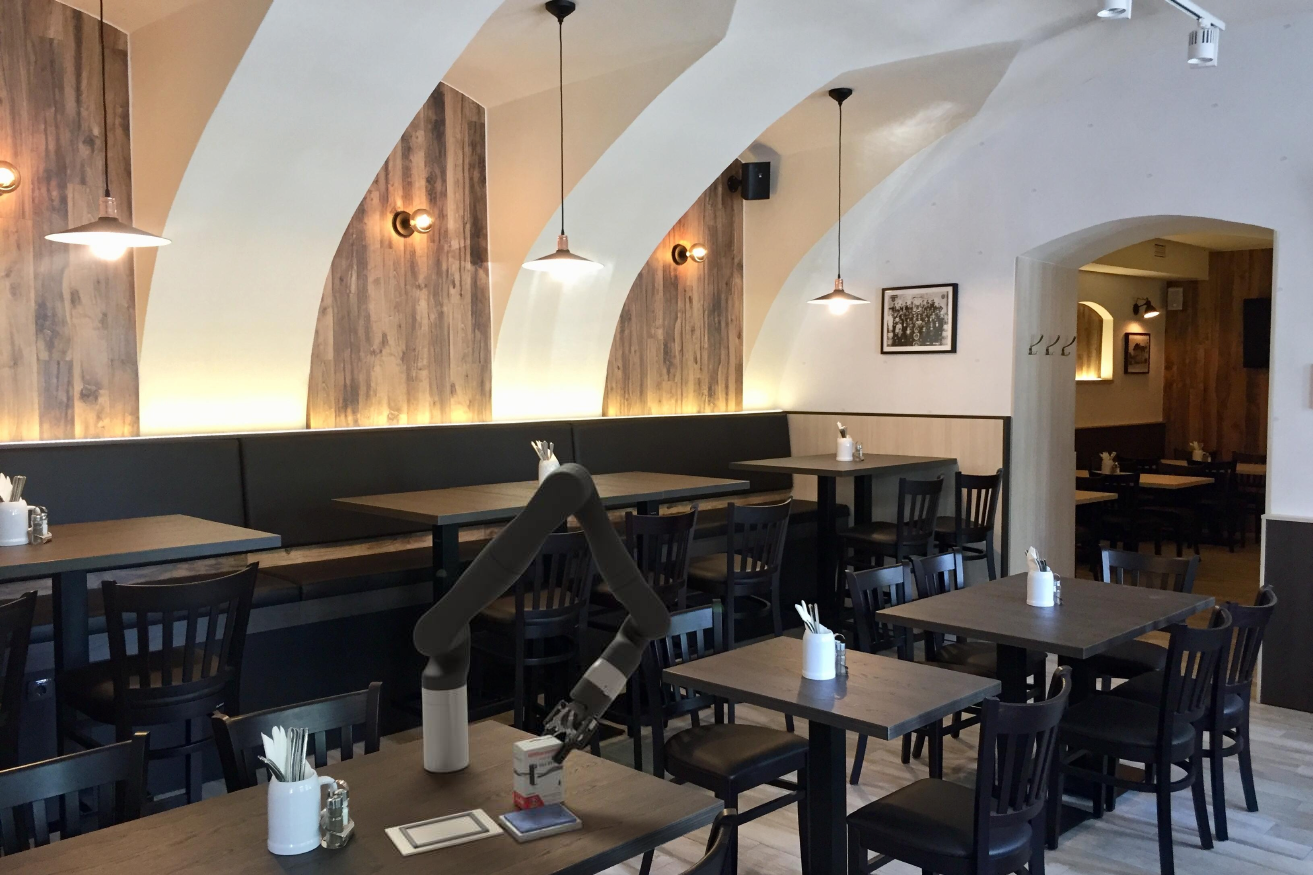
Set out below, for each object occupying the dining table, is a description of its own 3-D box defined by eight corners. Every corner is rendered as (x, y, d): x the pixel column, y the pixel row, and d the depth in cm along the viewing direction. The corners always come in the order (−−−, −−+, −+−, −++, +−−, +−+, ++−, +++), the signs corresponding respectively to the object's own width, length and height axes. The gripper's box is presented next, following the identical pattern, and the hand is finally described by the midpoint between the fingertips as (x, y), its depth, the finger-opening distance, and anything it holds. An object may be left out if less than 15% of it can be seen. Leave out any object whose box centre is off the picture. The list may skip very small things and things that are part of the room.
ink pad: (498, 822, 194) (498, 814, 194) (559, 809, 200) (559, 800, 200) (519, 842, 186) (519, 833, 186) (581, 827, 191) (581, 819, 191)
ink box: (525, 812, 199) (523, 749, 199) (513, 803, 203) (511, 742, 203) (565, 801, 204) (563, 740, 203) (553, 793, 208) (551, 734, 207)
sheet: (385, 831, 191) (385, 827, 191) (480, 810, 200) (480, 807, 200) (403, 856, 181) (403, 852, 181) (503, 833, 189) (503, 829, 189)
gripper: (571, 668, 214) (519, 734, 209) (602, 684, 201) (547, 755, 196) (595, 690, 217) (544, 755, 212) (627, 707, 204) (574, 778, 199)
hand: (546, 755), depth 204 cm, fingers open, 8 cm apart
